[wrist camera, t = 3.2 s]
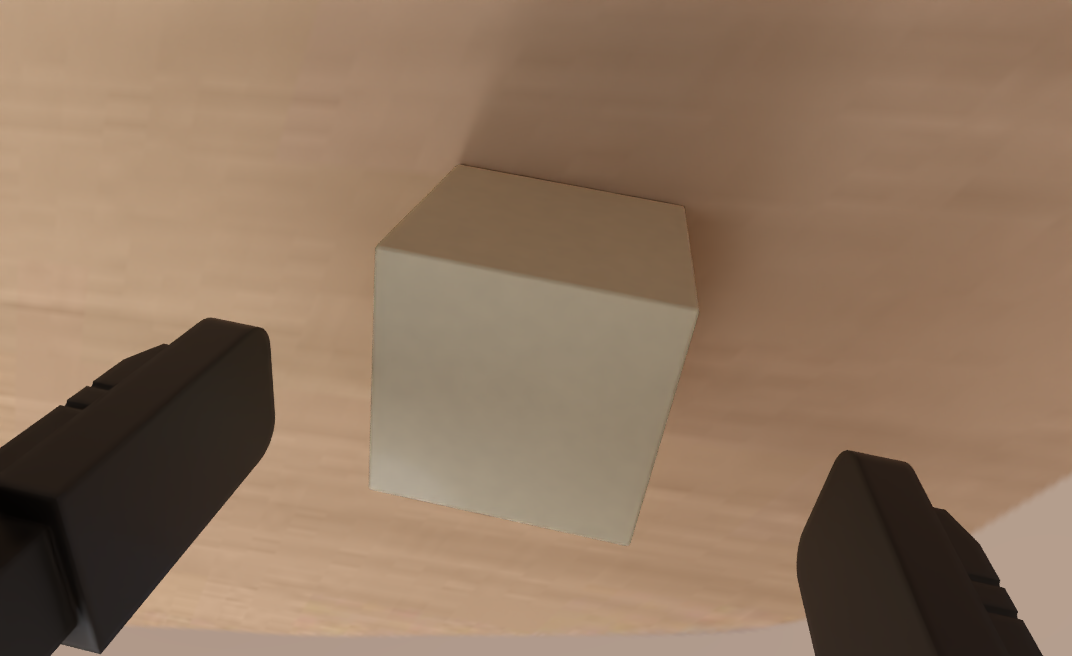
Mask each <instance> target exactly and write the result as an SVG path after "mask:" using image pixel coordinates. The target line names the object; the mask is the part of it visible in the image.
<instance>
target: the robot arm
mask: <svg viewBox="0 0 1072 656" xmlns="http://www.w3.org/2000/svg"><path fill="white" fill-rule="evenodd" d="M274 424H275V408H274V393H273V378H272V363H271V348H270V340H269V336H268V334H267V332H266V331H265V330H264V329H263V328H260V327H255V326H250V325H245V324H240V323H236V322H231V321H226V320H221V319H216V318H206V319H203V320H202V321H200V322H199V323H198V324H196V325H195V326H194V327H192V328H191V329H190V330H188V331H187V332H186V333H184V334H183V335H182V336H180V337H179V338H178V339H176V340H175V341H174V342H172V343H171V344H170V345H167V344H162V345H159V346H157V347H154V348H152V349H149V350H147V351H144V352H141V353H139V354H136V355H134V356H131V357H129V358H126V359H124V360H122V361H121V362H120V363H118V364H117V365H115V366H114V367H113V368H111V369H110V370H108V371H107V372H106V373H104V374H103V375H101V376H100V377H99V378H97V379H96V380H94V381H93V385H92V386H91V387H89V386H86V387H85V388H83V389H82V390H81V391H79V392H78V393H76V394H75V395H74V396H72V397H71V398H69V399H68V400H67V403H66V405H65V406H62V405H60V406H58V407H57V408H55V409H54V410H53V411H51V412H50V413H48V414H47V415H46V416H44V417H43V418H41V419H40V420H39V421H37V422H36V423H35V424H33V425H32V426H30V427H29V428H28V429H26V430H25V431H23V432H22V433H21V434H19V435H18V436H16V437H15V438H14V439H12V440H11V441H9V442H8V443H7V444H5V445H4V446H2V447H1V448H0V656H51V654H52V653H53V652H54V651H55V650H56V649H57V648H58V647H59V645H60V644H62V645H66V646H70V647H74V648H78V649H82V650H86V651H90V652H94V653H98V654H101V653H102V652H103V651H104V649H105V648H106V647H107V646H108V645H109V643H110V642H111V641H112V640H113V639H114V637H115V636H116V635H117V634H118V633H119V631H120V630H121V629H122V628H123V626H124V625H125V624H126V623H127V622H128V620H129V619H130V618H131V617H132V616H133V614H134V613H135V612H136V611H137V609H138V608H139V607H140V606H141V605H142V603H143V602H144V601H145V600H146V599H147V597H148V596H149V595H150V594H151V592H152V591H153V590H154V589H155V588H156V586H157V585H158V584H159V583H160V581H161V580H162V579H163V578H164V577H165V575H166V574H167V573H168V572H169V571H170V569H171V568H172V567H173V566H174V564H175V563H176V562H177V561H178V560H179V558H180V557H181V556H182V555H183V554H184V552H185V551H186V550H187V549H188V547H189V546H190V545H191V544H192V543H193V541H194V540H195V539H196V538H197V536H198V535H199V534H200V533H201V532H202V530H203V529H204V528H205V527H206V526H207V524H208V523H209V522H210V521H211V519H212V518H213V517H214V516H215V515H216V513H217V512H218V511H219V510H220V509H221V507H222V506H223V505H224V504H225V502H226V501H227V500H228V499H229V498H230V496H231V495H232V494H233V493H234V491H235V490H236V489H237V488H238V487H239V485H240V484H241V483H242V482H243V481H244V479H245V478H246V477H247V476H248V474H249V473H250V472H251V471H252V470H253V468H254V467H255V466H256V465H257V464H258V462H259V461H260V460H261V458H262V457H263V455H264V454H265V452H266V450H267V448H268V446H269V443H270V441H271V438H272V434H273V430H274ZM797 578H798V583H799V587H800V592H801V596H802V600H803V605H804V609H805V613H806V618H807V622H808V626H809V631H810V635H811V639H812V643H813V648H814V652H815V656H1043V655H1042V653H1041V652H1040V650H1039V648H1038V647H1037V645H1036V643H1035V641H1034V640H1033V637H1032V636H1031V634H1030V632H1029V630H1028V629H1027V627H1026V625H1025V623H1024V622H1023V620H1020V619H1018V618H1017V613H1018V611H1017V609H1016V607H1015V606H1014V604H1013V602H1012V600H1011V599H1010V597H1009V595H1008V593H1007V592H1006V590H1005V588H1002V587H1000V586H999V583H1000V580H999V577H998V576H997V574H996V572H995V570H994V569H993V567H992V565H991V563H990V562H989V560H988V558H987V556H986V554H985V553H984V551H983V550H982V547H981V546H980V544H979V543H978V542H977V541H976V540H975V539H974V538H973V537H972V536H971V535H970V534H969V533H968V532H967V531H966V530H965V529H964V528H963V527H962V526H961V525H960V524H959V523H958V522H957V521H956V520H955V519H954V518H953V517H952V516H951V515H950V514H949V513H948V512H947V511H946V510H944V509H939V508H934V507H933V506H932V504H931V502H930V500H929V499H928V497H927V495H926V493H925V491H924V489H923V487H922V485H921V483H920V481H919V479H918V477H917V475H916V473H915V471H914V470H913V468H912V467H911V466H910V465H909V464H908V463H906V462H903V461H898V460H893V459H889V458H884V457H879V456H874V455H869V454H864V453H859V452H855V451H850V450H846V451H843V452H842V453H841V454H840V455H839V456H838V457H837V458H836V460H835V462H834V464H833V466H832V468H831V470H830V473H829V475H828V477H827V479H826V481H825V484H824V486H823V488H822V490H821V492H820V495H819V497H818V499H817V501H816V503H815V506H814V508H813V510H812V512H811V514H810V517H809V519H808V521H807V523H806V525H805V527H804V530H803V532H802V535H801V538H800V542H799V546H798V552H797Z"/></svg>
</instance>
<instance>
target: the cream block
mask: <svg viewBox="0 0 1072 656" xmlns="http://www.w3.org/2000/svg"><path fill="white" fill-rule="evenodd" d="M698 315H699V305H698V298H697V291H696V284H695V277H694V270H693V263H692V256H691V249H690V242H689V235H688V228H687V221H686V214H685V207H683V206H680V205H674V204H669V203H664V202H658V201H653V200H648V199H642V198H637V197H631V196H626V195H621V194H615V193H610V192H605V191H599V190H594V189H589V188H583V187H578V186H572V185H567V184H562V183H556V182H551V181H546V180H540V179H535V178H530V177H524V176H519V175H513V174H508V173H503V172H497V171H492V170H487V169H481V168H476V167H471V166H465V165H460V164H459V165H457V166H456V167H455V168H454V169H453V170H452V171H451V172H450V173H449V174H448V175H447V176H446V177H445V178H444V179H443V180H442V181H441V182H440V183H439V184H438V185H437V186H436V187H435V188H434V189H433V190H432V191H431V192H430V193H429V194H428V195H427V196H426V197H425V198H424V199H423V200H422V201H421V202H420V203H419V204H418V205H417V206H416V207H415V208H414V209H413V210H412V211H411V212H409V213H408V214H407V215H406V216H405V217H404V218H403V219H402V220H401V221H400V222H399V223H398V224H397V225H396V226H395V227H394V228H393V229H392V230H391V231H390V232H389V233H388V234H387V235H386V236H385V237H384V238H383V239H382V240H381V241H380V242H379V243H378V244H377V246H376V248H375V273H374V311H373V348H372V385H371V423H370V460H369V489H371V490H375V491H379V492H384V493H388V494H393V495H397V496H402V497H406V498H411V499H415V500H420V501H424V502H429V503H434V504H438V505H443V506H447V507H452V508H456V509H461V510H465V511H470V512H474V513H479V514H483V515H488V516H493V517H497V518H502V519H506V520H511V521H515V522H520V523H524V524H529V525H533V526H538V527H542V528H547V529H552V530H556V531H561V532H565V533H570V534H574V535H579V536H583V537H588V538H592V539H597V540H601V541H606V542H611V543H615V544H620V545H624V546H629V544H630V543H631V540H632V536H633V533H634V530H635V526H636V523H637V520H638V516H639V513H640V509H641V506H642V503H643V499H644V496H645V493H646V489H647V486H648V483H649V479H650V476H651V473H652V469H653V466H654V463H655V459H656V456H657V452H658V449H659V446H660V442H661V439H662V436H663V432H664V429H665V426H666V422H667V419H668V416H669V412H670V409H671V406H672V402H673V399H674V395H675V392H676V389H677V385H678V382H679V379H680V375H681V372H682V369H683V365H684V362H685V359H686V355H687V352H688V349H689V345H690V342H691V338H692V335H693V332H694V328H695V325H696V322H697V318H698Z"/></svg>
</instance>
